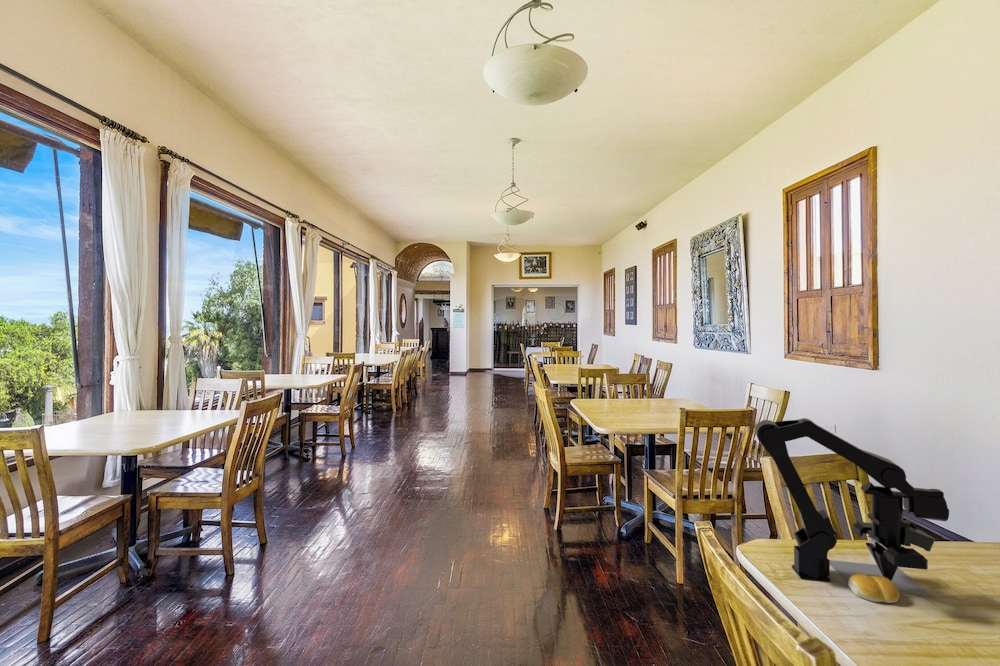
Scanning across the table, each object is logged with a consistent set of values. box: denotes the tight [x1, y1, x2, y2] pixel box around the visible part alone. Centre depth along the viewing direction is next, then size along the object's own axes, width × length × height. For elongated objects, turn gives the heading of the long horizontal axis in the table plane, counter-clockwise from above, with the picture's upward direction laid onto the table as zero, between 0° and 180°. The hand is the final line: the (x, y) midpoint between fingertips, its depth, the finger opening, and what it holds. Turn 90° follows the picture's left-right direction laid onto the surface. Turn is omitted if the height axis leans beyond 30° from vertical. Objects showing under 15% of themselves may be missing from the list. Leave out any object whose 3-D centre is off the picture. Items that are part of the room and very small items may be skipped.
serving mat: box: [829, 559, 934, 598], centre depth 114 cm, size 16×14×1 cm
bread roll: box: [847, 573, 901, 604], centre depth 106 cm, size 8×9×4 cm
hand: (887, 580), depth 109 cm, fingers closed
